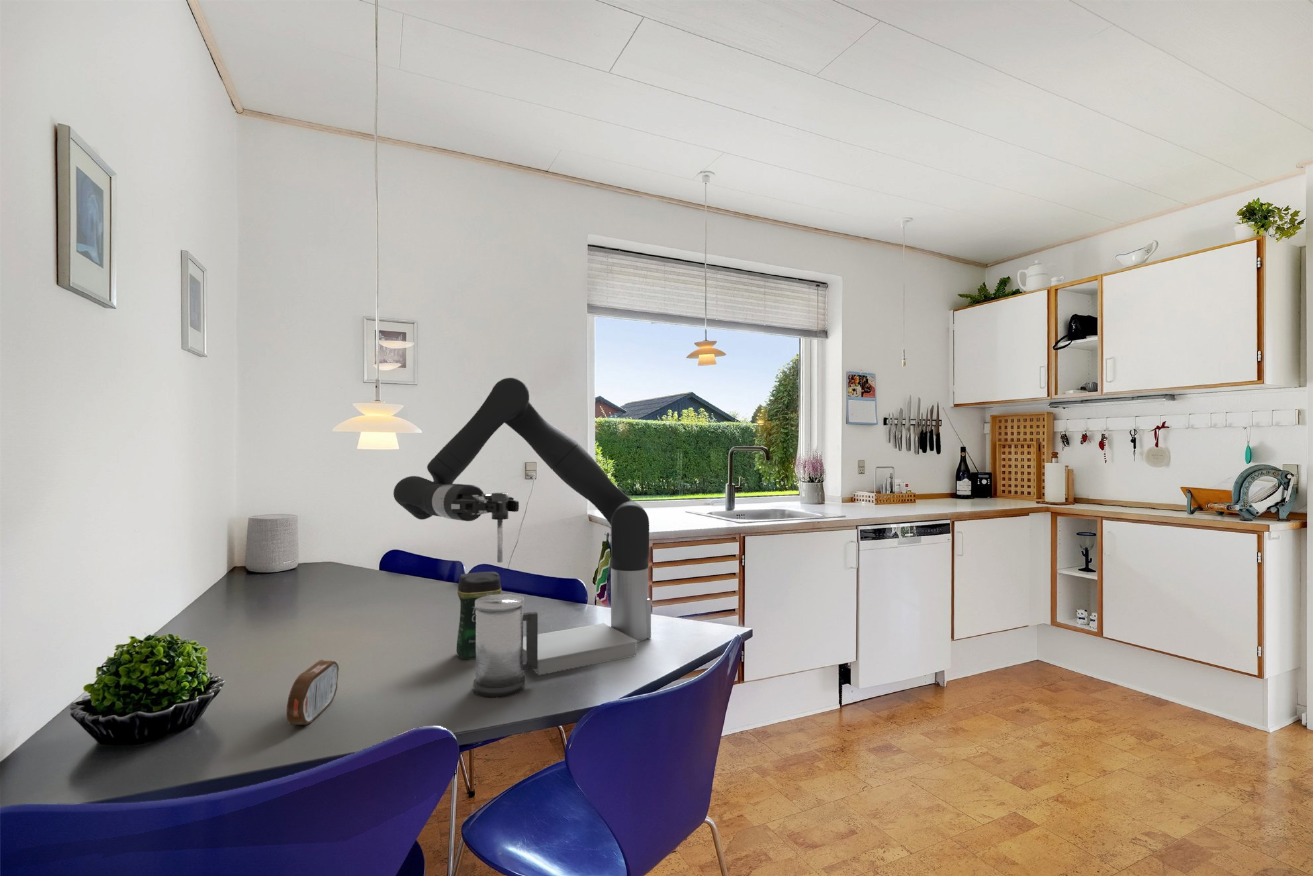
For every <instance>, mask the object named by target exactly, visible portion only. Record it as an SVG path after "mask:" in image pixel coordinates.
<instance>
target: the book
mask: <svg viewBox="0 0 1313 876" xmlns="http://www.w3.org/2000/svg"><path fill="white" fill-rule="evenodd" d="M638 643H639V641H637V640H635V639H634V638H632V637H630V636H628V635H626V634H624V633H622V632H620V631H618V630H616V629H614V628H612V627H611V625H610V626H609V625H608V624H606V623H597V624H591V625H584V626H580V627H573V628H567V629H561V630H556V631H549V632H544V633H538V669H533V670H534V671H535V672H534V671H533V670H532V671H533V672H534V673H536V672H537V673H536V674H537V675H538V674H539V675H538V676H541V675H540V674H543V675H547V674H546V673H548V674H551V673H550V672H553V673H557V671H558V672H562V671H561V670H563V671H567V670H566V669H568V670H570V669H569V668H572V669H576V668H575V667H577V668H580V667H579V666H582V667H586V665H587V666H591V665H590V664H592V665H596V663H597V664H601V663H600V662H602V663H606V662H610V661H609V660H611V661H614V660H621V659H625V658H630V657H629V656H631V657H635V656H634V655H636V656H637V644H638ZM620 658H621V659H620ZM523 662H526V635H525V636H523Z"/></svg>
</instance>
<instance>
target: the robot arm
mask: <svg viewBox="0 0 1313 876" xmlns="http://www.w3.org/2000/svg"><path fill="white" fill-rule="evenodd" d="M504 424H505V425H507V426H508V427H510V429H512V430H513V431H514V432H515V433H517V434H518V435H519V436H520V437H521V438H522V439H523V440H525V442H527V444H528V446H530V447H531V449H533V451H534V452H535V453H536V454H537V456H539V457H540V459H541V460H542V461H543V462H544V464H546V465H547V466H548V467H549V468H550V470H552V471H553V472H554V473H555V474H556V475H557V476H558V478H560V479H561V480H562V482H564V483H565V484H566V485H567V486H568V487H569V488H571V490H573V491H575V492H576V493H578V494H579V495H580V496H582V497H583V498H585V499H586V500H588V501H589V503H591V504H592V505H593V506H594V507H595V508H596V509H597V510H598V511H599V512H600V513H601V515H603V516H602V517H604V518H605V520H606V521H607V523H609V524H610V528H611V529H610V531H611V532H610V535H611V536H610V539H611V540H610V541H611V543H610V544H611V545H610V547H611V549H610V627H612V628H614V629H616V630H618V631H620V632H622V633H624V634H626V635H628V636H630V637H632V638H634V639H635V640H637V641H638V642H642V640H643V641H645V640H647V638H648V639H651V638H652V600H651V598H649V559H650V519H649V516H648V513H647V512H646V510H645V508H643V506H642V505H640V504H639V503H637V502H635V500H633V499H632V498H630V497H629V496H628V495H627V494H626V493H624V492H623V491H622V490H621V489H620V488H619V487H618V486H616V485H615V484H614V483H613V482H612V480H611V479H610V478H609V477H608V475H607V474H606V472H605V471H604V470H603V469H602V467H601V466H600V465H599V464H598V463H597V462H596V460H595V459H594V457H592V455H590V453H588V451H587V450H586V449H584V447H583V446H582V445H581V444H579V443H578V441H577V440H576V439H574V438H573V437H572V436H570V434H567V433H566V432H565V431H563V430H561V429H560V428H558V427H556V426H555V425H554V424H551V422H549V421H548V420H546V418H544V417H543V416H542V415H541V414H540V412H539V411H538V410H537V409H536V408H535V407H534V406H533V404H532V403H531V402H530V392H529V389H528V386H527V385H526V383H524V382H523V381H522V380H521V379H518V378H516V377H507V378H506V377H505V378H502V379H500V380H499V381H497V382H496V383H495V384H494V385H493V387H492V389H491V391H490V392H489V394H488V395H487V397H486V399H485V400H484V401H483V403H482V405H481V406H480V407H479V408H478V409H477V411H476V412H475V414H473V416H472V417H471V418H470V420H468V422H467V423H466V424H465V425H464V426H463V427H461V429H460V430H459V431H458V432H457V433H456V434H455V435H454V436H453V437H452V438H450V440H449V441H448V442H447V443H446V444H445V445H444V446H443V447H442V449H440V450H439V452H438V453H436V455H435V456H434V457H433V458H432V459H430V461H429V462H428V463H427V466H426V469H427V472H428V473H429V474H430V476H431V477H432V479H433V481H432V480H431V479H427V478H424V477H423V476H418V475H412V476H411V475H410V476H406V477H404V478H402V479H400V480H399V481H398V482H397V483H396V484H395V486H394V488H393V497H394V500H395V502H396V503H397V504H398V505H400V506H401V507H402V508H403V509H404V510H406V511H407V512H408V513H409V514H411V515H412V516H413V517H414V518H416V519H418V520H422V521H423V520H427V519H430V518H431V517H440V518H441V517H443V518H446V519H449V520H455V521H462V522H473V521H475V520H478V519H479V518H480V517H481V516H482V515H484V514H490V513H491V514H492V513H502V512H503V503H502V502H499V501H492V494H490V493H484V491H483V490H482V489H481V488H480V486H477V485H474V484H463V483H454V482H455V481H456V480H457V478H458V477H459V476H460V475H462V473H463V472H464V471H465V470H466V469H467V468H468V466H469V465H470V464H471V463H472V462H473V460H475V458H476V457H477V455H478V454H479V453H480V452H481V450H482V449H483V447H484V446H485V444H487V442H488V441H489V440H490V438H491V437H492V436H493V435H494V434H495V433H496V432H497V431H498V430H499V429H500V427H502V426H503V425H504ZM519 504H520V502H519V501H518V500H515V498H514V497H512V496H508V512H511V513H512V512H513V513H516V512H519V509H520V508H519V507H520V505H519Z"/></svg>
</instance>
